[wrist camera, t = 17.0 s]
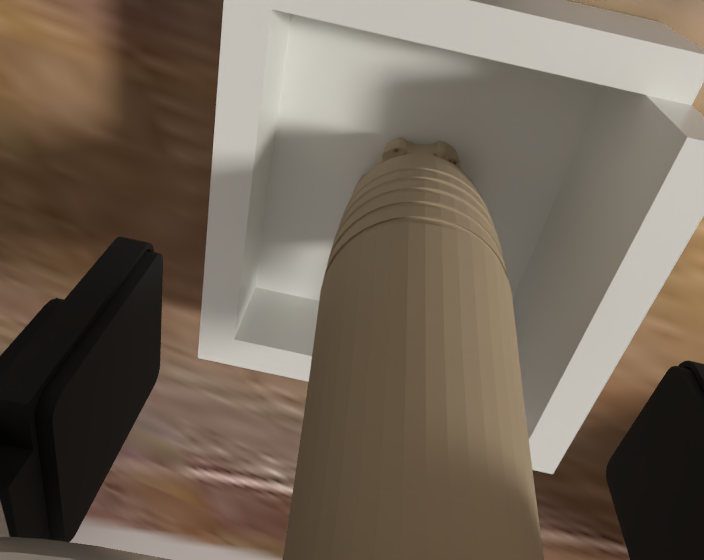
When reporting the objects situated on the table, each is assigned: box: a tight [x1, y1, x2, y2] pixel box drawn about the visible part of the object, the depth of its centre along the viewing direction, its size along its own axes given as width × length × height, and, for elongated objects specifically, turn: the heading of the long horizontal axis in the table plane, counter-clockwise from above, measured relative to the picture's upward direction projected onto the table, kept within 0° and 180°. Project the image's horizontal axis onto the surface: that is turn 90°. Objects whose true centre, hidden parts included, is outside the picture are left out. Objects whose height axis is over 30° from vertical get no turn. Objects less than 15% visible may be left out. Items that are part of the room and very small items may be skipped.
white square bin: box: [198, 0, 704, 474], centre depth 16 cm, size 11×10×6 cm
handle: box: [283, 138, 544, 560], centre depth 11 cm, size 5×6×15 cm
